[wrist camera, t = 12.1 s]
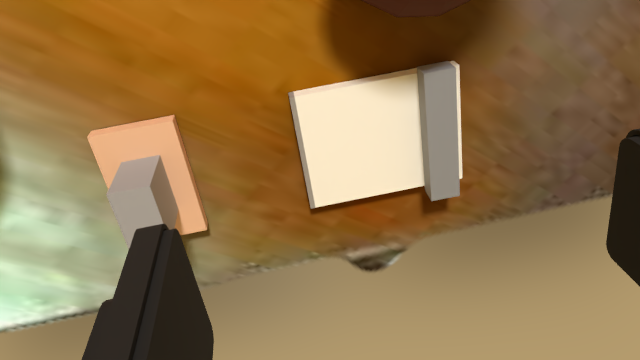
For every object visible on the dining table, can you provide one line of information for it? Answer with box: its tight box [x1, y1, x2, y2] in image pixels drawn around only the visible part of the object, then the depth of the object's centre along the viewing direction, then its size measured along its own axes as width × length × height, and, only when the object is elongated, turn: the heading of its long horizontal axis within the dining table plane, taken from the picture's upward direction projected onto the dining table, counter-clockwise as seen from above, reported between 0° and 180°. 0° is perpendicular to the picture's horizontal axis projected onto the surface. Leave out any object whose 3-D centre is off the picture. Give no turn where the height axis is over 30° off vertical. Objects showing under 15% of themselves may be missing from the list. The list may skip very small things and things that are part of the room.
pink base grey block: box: [87, 115, 208, 248], centre depth 40 cm, size 6×10×6 cm, turn 9°
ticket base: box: [288, 61, 462, 209], centre depth 42 cm, size 13×11×3 cm
